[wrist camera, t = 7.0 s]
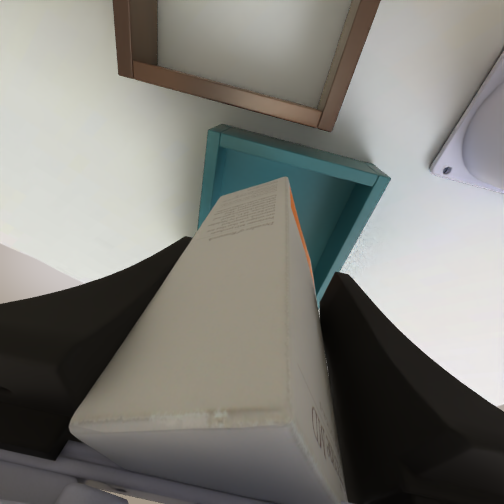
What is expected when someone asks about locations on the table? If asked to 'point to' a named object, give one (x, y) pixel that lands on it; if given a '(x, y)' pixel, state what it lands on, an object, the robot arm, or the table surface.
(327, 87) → the frame
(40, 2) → the table surface
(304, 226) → the bin
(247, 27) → the table surface
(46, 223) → the table surface
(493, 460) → the robot arm
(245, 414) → the cosmetic box
